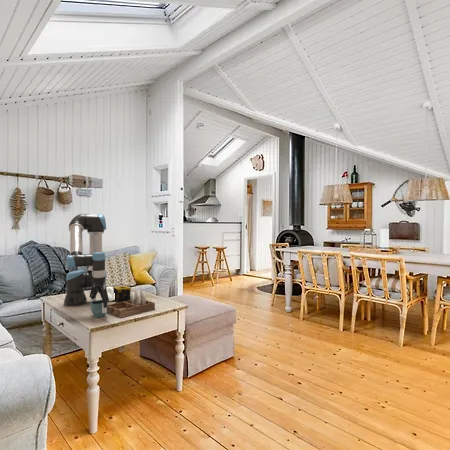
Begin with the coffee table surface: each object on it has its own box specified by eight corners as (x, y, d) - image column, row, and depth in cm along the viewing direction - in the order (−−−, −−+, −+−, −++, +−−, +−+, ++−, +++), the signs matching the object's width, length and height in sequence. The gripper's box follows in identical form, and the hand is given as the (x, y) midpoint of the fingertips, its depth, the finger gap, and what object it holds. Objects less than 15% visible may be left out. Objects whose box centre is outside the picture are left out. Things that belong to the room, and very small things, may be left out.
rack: (105, 312, 213) (105, 293, 213) (139, 304, 233) (139, 287, 233) (120, 317, 201) (120, 298, 201) (154, 309, 221) (154, 291, 221)
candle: (112, 300, 245) (112, 287, 245) (126, 298, 252) (126, 285, 251) (117, 303, 237) (117, 289, 237) (130, 301, 243) (130, 287, 243)
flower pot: (93, 319, 198) (93, 304, 198) (89, 315, 206) (89, 301, 205) (108, 316, 204) (108, 302, 204) (104, 313, 211) (104, 299, 211)
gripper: (83, 275, 210) (83, 308, 210) (103, 279, 193) (103, 315, 193) (94, 274, 215) (95, 306, 215) (114, 278, 199) (114, 313, 199)
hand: (99, 310), depth 204 cm, fingers open, 13 cm apart
